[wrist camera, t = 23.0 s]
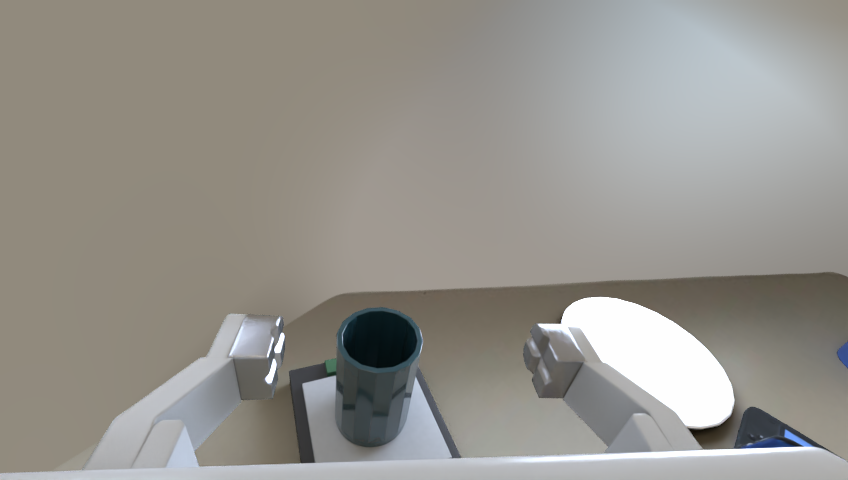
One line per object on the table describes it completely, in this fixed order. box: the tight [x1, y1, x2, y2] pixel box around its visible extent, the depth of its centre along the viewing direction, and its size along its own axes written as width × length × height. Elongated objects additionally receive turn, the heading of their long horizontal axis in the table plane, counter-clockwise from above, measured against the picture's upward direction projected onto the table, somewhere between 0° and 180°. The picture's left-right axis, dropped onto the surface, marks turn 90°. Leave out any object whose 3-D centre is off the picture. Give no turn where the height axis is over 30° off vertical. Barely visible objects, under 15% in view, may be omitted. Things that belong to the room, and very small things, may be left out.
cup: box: [335, 307, 423, 447], centre depth 32 cm, size 7×7×10 cm
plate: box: [561, 297, 735, 430], centre depth 48 cm, size 21×21×2 cm
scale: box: [289, 358, 461, 463], centre depth 35 cm, size 14×13×3 cm
